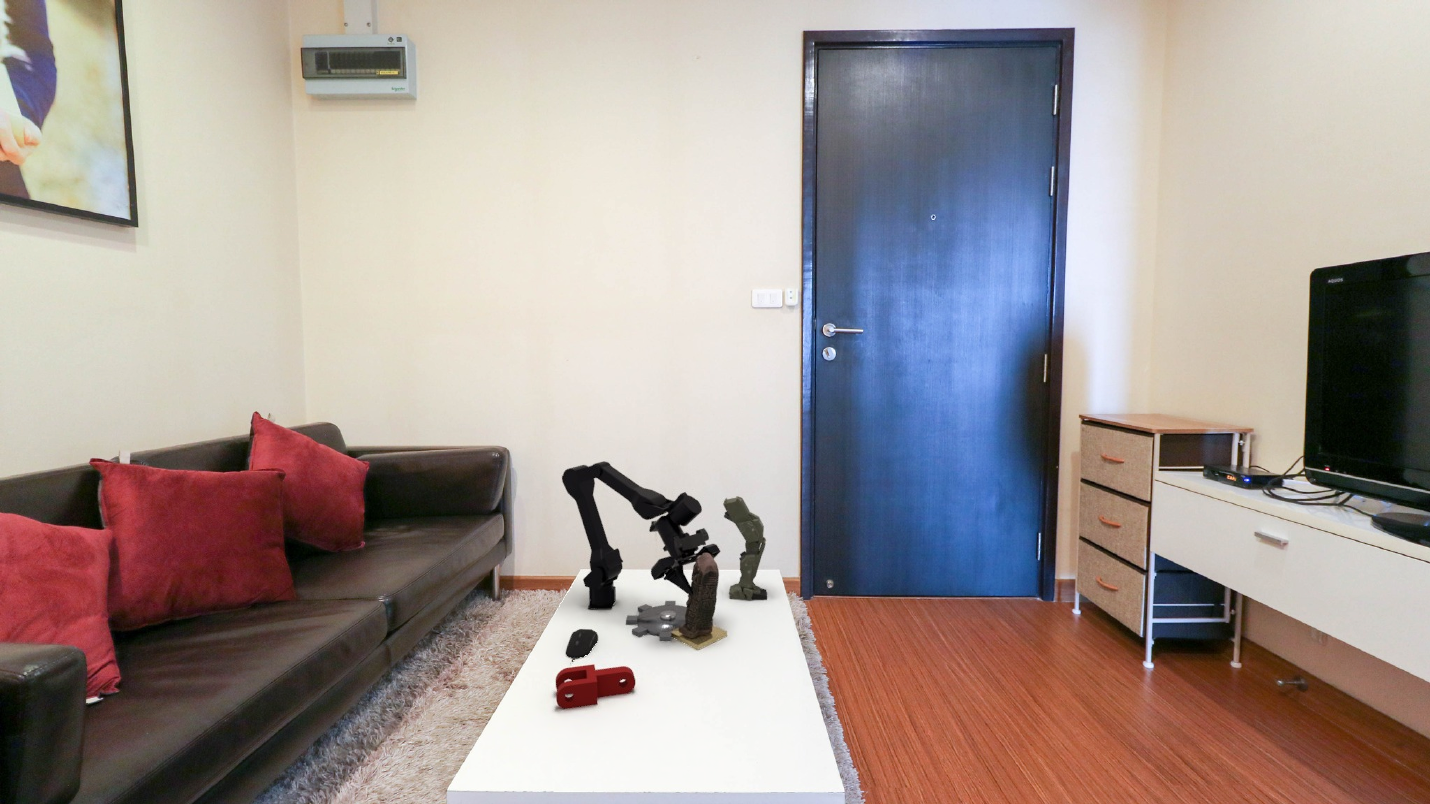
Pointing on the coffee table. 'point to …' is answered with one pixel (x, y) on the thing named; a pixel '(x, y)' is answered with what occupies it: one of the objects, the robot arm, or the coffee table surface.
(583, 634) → the gaming mouse
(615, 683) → the mechanical linkage
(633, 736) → the coffee table surface
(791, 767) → the coffee table surface
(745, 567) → the mechanical leg
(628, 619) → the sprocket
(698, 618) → the statue
